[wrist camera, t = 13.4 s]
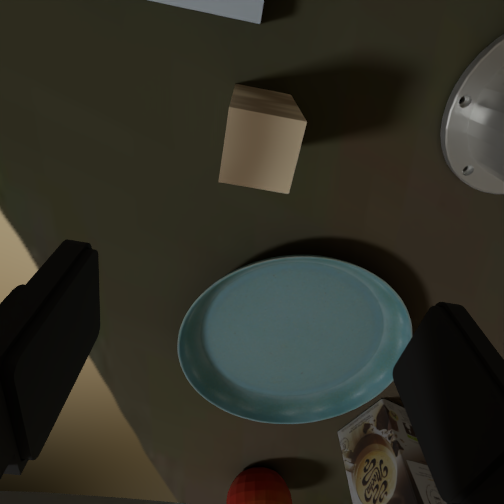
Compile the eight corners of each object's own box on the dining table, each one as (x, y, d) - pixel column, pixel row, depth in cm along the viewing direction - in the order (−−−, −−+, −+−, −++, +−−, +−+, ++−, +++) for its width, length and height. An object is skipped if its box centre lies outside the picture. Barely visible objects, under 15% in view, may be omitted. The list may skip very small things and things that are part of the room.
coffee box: (380, 396, 46) (436, 553, 32) (416, 412, 48) (483, 568, 34) (335, 431, 50) (367, 584, 36) (369, 445, 52) (412, 595, 38)
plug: (290, 94, 27) (307, 121, 19) (278, 149, 29) (288, 193, 21) (235, 83, 26) (229, 106, 19) (226, 140, 29) (218, 181, 21)
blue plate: (403, 384, 45) (413, 408, 42) (217, 412, 48) (215, 436, 45) (400, 215, 33) (414, 233, 30) (148, 266, 35) (140, 287, 33)
